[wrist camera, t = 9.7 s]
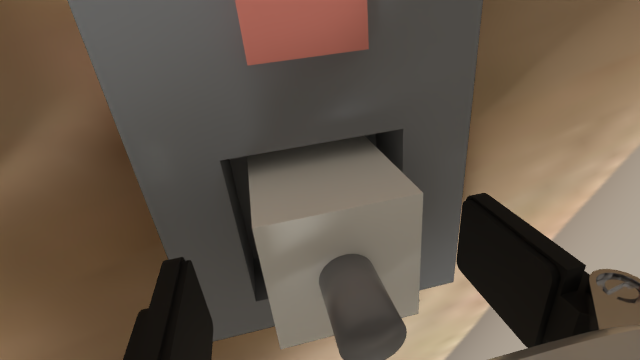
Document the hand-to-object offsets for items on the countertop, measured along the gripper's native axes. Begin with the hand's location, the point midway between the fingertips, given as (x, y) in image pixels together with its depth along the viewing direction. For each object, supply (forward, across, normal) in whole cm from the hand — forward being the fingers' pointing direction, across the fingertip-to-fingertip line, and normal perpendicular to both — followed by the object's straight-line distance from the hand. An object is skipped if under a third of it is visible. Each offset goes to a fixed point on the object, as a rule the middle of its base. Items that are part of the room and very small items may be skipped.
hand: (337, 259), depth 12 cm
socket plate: (+6, 0, -3) cm, 7 cm away
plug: (+5, 0, 0) cm, 5 cm away
